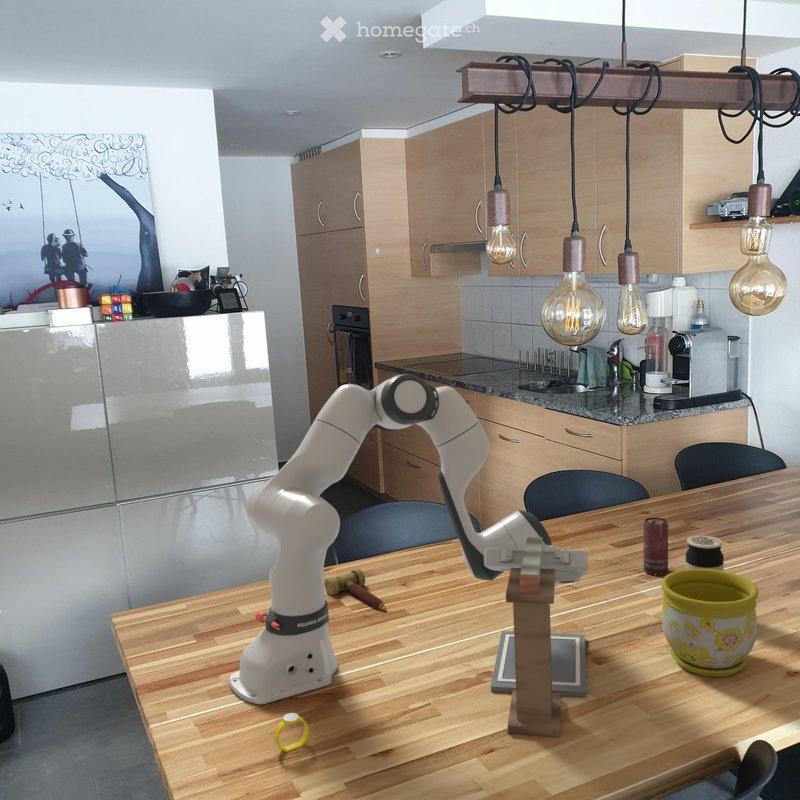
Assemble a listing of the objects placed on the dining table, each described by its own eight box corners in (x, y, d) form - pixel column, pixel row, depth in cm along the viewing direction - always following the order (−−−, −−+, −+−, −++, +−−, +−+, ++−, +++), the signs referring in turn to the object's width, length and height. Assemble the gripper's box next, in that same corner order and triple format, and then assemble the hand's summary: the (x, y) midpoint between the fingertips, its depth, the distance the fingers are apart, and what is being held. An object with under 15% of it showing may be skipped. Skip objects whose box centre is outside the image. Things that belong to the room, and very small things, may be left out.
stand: (513, 697, 152) (508, 567, 148) (561, 700, 150) (558, 569, 146) (507, 733, 140) (502, 593, 136) (559, 737, 138) (556, 595, 134)
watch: (305, 740, 142) (304, 708, 142) (311, 747, 140) (310, 715, 139) (273, 749, 139) (272, 717, 139) (278, 757, 137) (278, 724, 136)
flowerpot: (689, 633, 174) (689, 561, 171) (773, 660, 160) (774, 583, 158) (644, 663, 162) (643, 586, 159) (729, 695, 149) (731, 612, 146)
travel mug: (692, 624, 178) (692, 547, 175) (680, 609, 185) (681, 535, 182) (728, 623, 177) (729, 546, 174) (715, 608, 185) (716, 534, 182)
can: (652, 577, 205) (652, 525, 202) (639, 569, 211) (638, 518, 208) (673, 574, 206) (673, 522, 204) (659, 566, 212) (659, 515, 210)
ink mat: (501, 635, 178) (501, 630, 177) (584, 638, 174) (584, 633, 173) (490, 691, 154) (490, 685, 154) (586, 697, 151) (586, 691, 150)
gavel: (402, 594, 196) (367, 606, 190) (402, 611, 197) (368, 623, 191) (356, 566, 212) (323, 576, 207) (356, 582, 213) (324, 592, 208)
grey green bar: (539, 593, 135) (538, 577, 135) (519, 593, 136) (519, 576, 135) (543, 552, 154) (543, 537, 154) (526, 551, 155) (526, 537, 155)
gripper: (487, 548, 167) (479, 535, 154) (587, 551, 162) (588, 538, 150) (486, 579, 164) (478, 568, 152) (588, 582, 160) (588, 572, 147)
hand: (533, 553), depth 151 cm, fingers open, 8 cm apart
